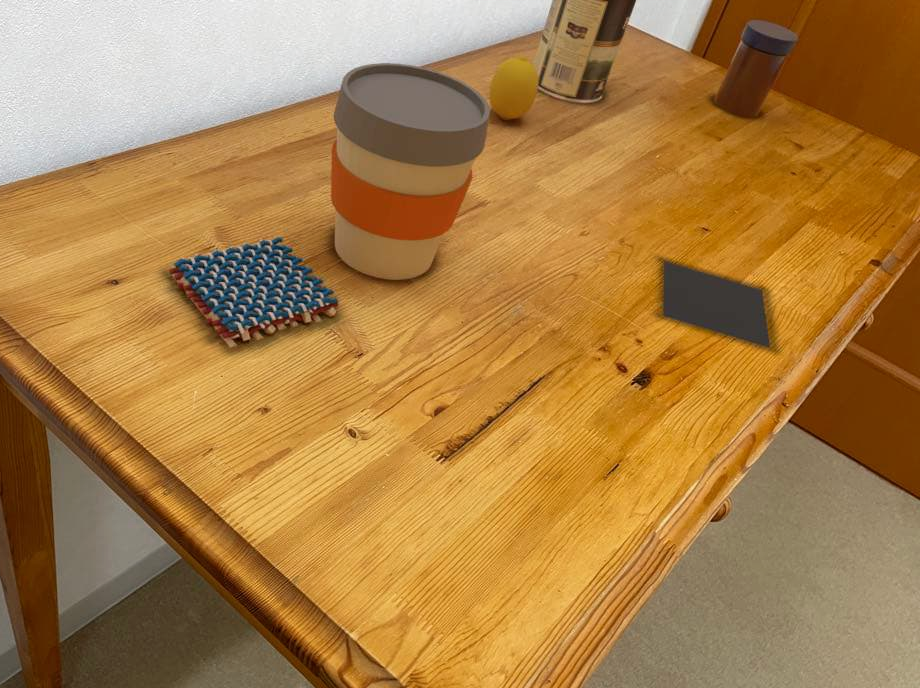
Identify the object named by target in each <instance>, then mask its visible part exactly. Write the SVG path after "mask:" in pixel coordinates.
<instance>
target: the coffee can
mask: <svg viewBox="0 0 920 688" xmlns="http://www.w3.org/2000/svg"><path fill="white" fill-rule="evenodd" d="M636 3H637V0H552V1H551V4H550V7H549V10H548V15H547V18H546V21H545V24H544V28H543V31H542V35H541V38H540V41H539V44H538V49H537V50H536V51H537V52H536V55H535V59H534V61H533V65H534V67H535V68H536V70H537V73H538V90H539V91H541V92H542V93H545V94H547V95H549V96H552V97H554V98H557V99H560V100H563V101H567V102H573V103H580V104H590V103H595V102H598V101H600V100H601V99H602V98H603V94H604V90H605V88H606V86H607V82H608V80H609V76H610V74H611V71H612V68H613V66H614V63H615V60H616V58H617V55H618V52H619V49H620V47H621V43H622V41H623V38H624V36H625V32H626V30H627V27H628V24H629V22H630V19H631V16H632V13H633V11H634V8H635V5H636Z"/></svg>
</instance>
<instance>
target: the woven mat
mask: <svg viewBox="0 0 920 688" xmlns="http://www.w3.org/2000/svg"><path fill="white" fill-rule="evenodd" d="M283 241H284V239H283V238H282V237H280V236H279V237H275V238H274V239H268V240H265V239H263V238H260V239H259V242H252V244H248V243H246V242H242V244H243V246H241V245H240V246H239V245H238V246H235V248H234V247H232V246H228V248H227V249H219V250H217V249H216V248H215V249H212V253H211V252H207V253H205V255H202V254H199V253H195V257H194V256H191V257H190V256H189V257H187V258H186V259H185V257H181V258H180V259H178V260H177V261H175V262H174V263H173V266H174V268H173V267H172V268H170V269H169V274H170V275H171V276H172V278H173V279H174V282H176V287H177V288H178V289H181V290H183V291H185V292H184V293H185V295H186V296H187V298H188V299H189V300H191V302H192V303H193V304H194V305H195V307H196V308H197V309H198V310H199V312H200V313H201V314H202V316H204V317H205V319H206V320H205V322H206V323H207V324H208V325H210V326H213V329H214V330H215V332H216V333H217V334H218V335H219V337H220V338H221V339H222V340H223V341H224V342H225V343H226V345H227V346H228V347H229V349H232V348H236V347H238V345H237V343H236V341H235V340H234V339H237V338H238V339H240V340H242V341H243V342H245V341H248V340H251V336H252V337H253V338H254V339H255V340H256V341H260V340H262V339H264V336H263V335H262V333H261V332H260V330H262V331H263V332H264V333H266V334H269V335H272V334H273V333H274V332H275V331H276V330H278V331H279V332H280V331H283V330H286V329H287V326H286V325H287V324H288V325H289V326H290V327H291V328H293V327H294V328H295V327H298V326H299V323H298V322H297V321H299V322H302V323H303V322H304V323H303V324H307V323H311V322H312V319H313V320H314V321H315V322H316V323H320V322H323V319H322V318H321V317H320V316H319V314H320V313H323V314H324V315H326V316H328V317H330V318H332V317H333V316H335V314H336V313H337V311H336V309H335V308H337V307H338V306H339V300H338V298H337V297H333V298H332V297H329V296H331V295H334V293H335V291H334V290H333V289H332V288H330V289H328V288H327V287H326V286H322V285H323V284H324V280H323V279H322V277H321V278H317V277H316V275H313V276H311V275H309V274H312V273H313V272H314V269H313V268H312V267H306V265H299V263H300V264H301V263H302V262H303V261H304V259H303V258H302V257H297V256H296V255H295V254H294V255H292V254H291V253H293V251H294V249H293V247H287V246H286V245H285V244H284V245H279V243H283ZM297 264H298V265H297Z"/></svg>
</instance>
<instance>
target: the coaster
mask: <svg viewBox="0 0 920 688" xmlns="http://www.w3.org/2000/svg"><path fill="white" fill-rule="evenodd" d="M662 306H663V307H662V315H663V317H666V318H669V319H673V320H674V321H675V320H676V321H679V322H682V323H685V324H688V325H693V326H695V327H699V328H702V329H705V330H708V331H712V332H715V333H719V334H721V335H725V336H729V337H732V338H736V339H739V340H742V341H745V342H748V343H752V344H754V345H755V344H756V345H759V346H762V347H765V348H768V349H769V348H770V349H771V344H770V337H769V330H768V322H767V316H766V309H765V308H766V307H765V303H764V293H763V290H762V289H760V288H756V287H753V286H750V285H746V284H744V283H740V282H737V281H733V280H730V279H727V278H723V277H720V276H716V275H713V274H710V273H706V272H702V271H699V270H696V269H692V268H690V267H686V266H682V265H679V264H675V263H672V262H669V261H666V260H665V261H663V304H662Z"/></svg>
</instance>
